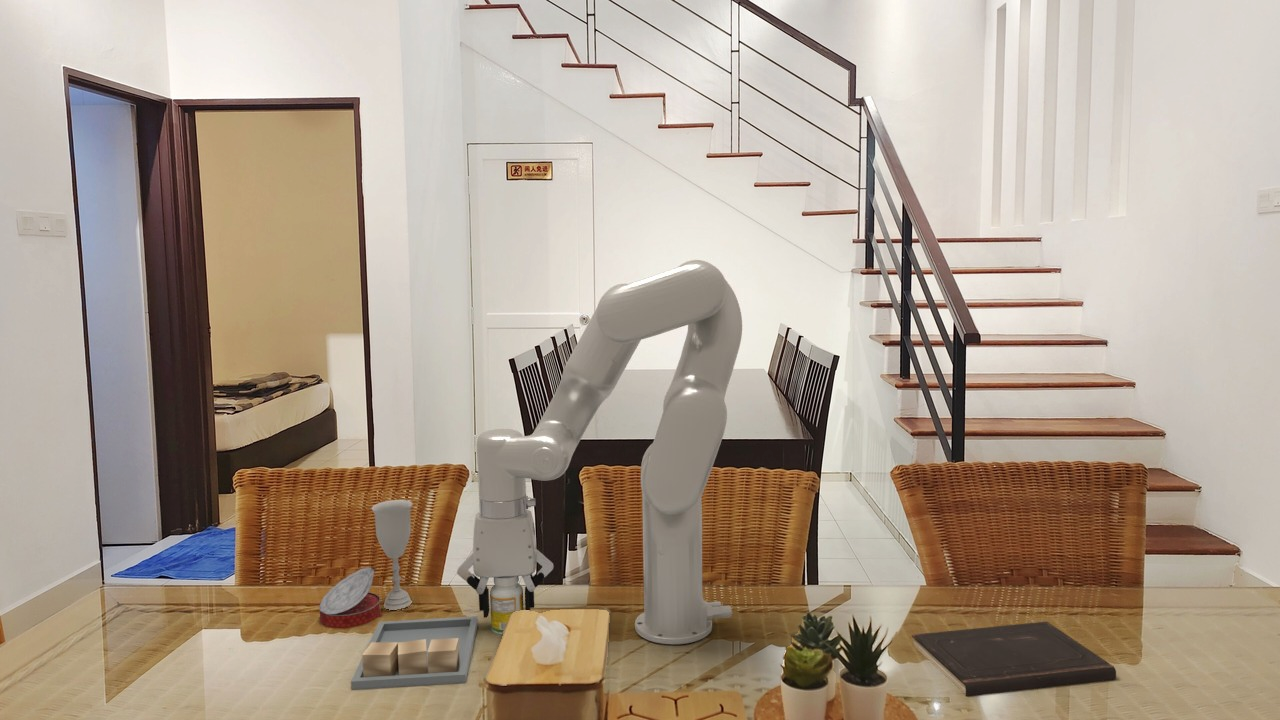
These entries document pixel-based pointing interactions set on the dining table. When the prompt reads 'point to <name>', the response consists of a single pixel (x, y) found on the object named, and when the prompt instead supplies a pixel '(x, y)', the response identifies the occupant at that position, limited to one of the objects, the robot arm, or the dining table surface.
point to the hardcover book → (1012, 658)
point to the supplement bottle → (504, 601)
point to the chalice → (394, 543)
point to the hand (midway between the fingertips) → (507, 612)
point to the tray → (429, 631)
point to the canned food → (350, 601)
